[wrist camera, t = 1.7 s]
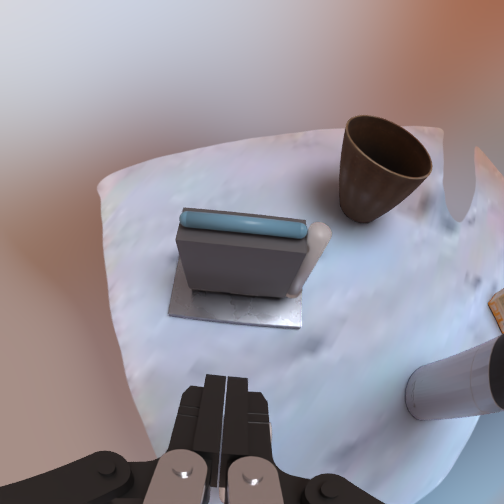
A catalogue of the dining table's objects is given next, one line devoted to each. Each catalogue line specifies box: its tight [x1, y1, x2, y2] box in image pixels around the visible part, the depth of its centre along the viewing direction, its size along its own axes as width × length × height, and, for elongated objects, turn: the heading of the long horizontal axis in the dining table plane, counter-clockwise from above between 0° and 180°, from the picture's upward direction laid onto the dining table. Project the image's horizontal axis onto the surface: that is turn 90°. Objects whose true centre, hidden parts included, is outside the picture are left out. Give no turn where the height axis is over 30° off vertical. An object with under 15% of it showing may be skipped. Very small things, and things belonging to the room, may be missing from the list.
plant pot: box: [339, 115, 432, 223], centre depth 44 cm, size 15×15×16 cm
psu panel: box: [168, 256, 302, 329], centre depth 40 cm, size 18×11×2 cm, turn 86°
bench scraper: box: [176, 208, 332, 298], centre depth 33 cm, size 15×4×14 cm, turn 86°
